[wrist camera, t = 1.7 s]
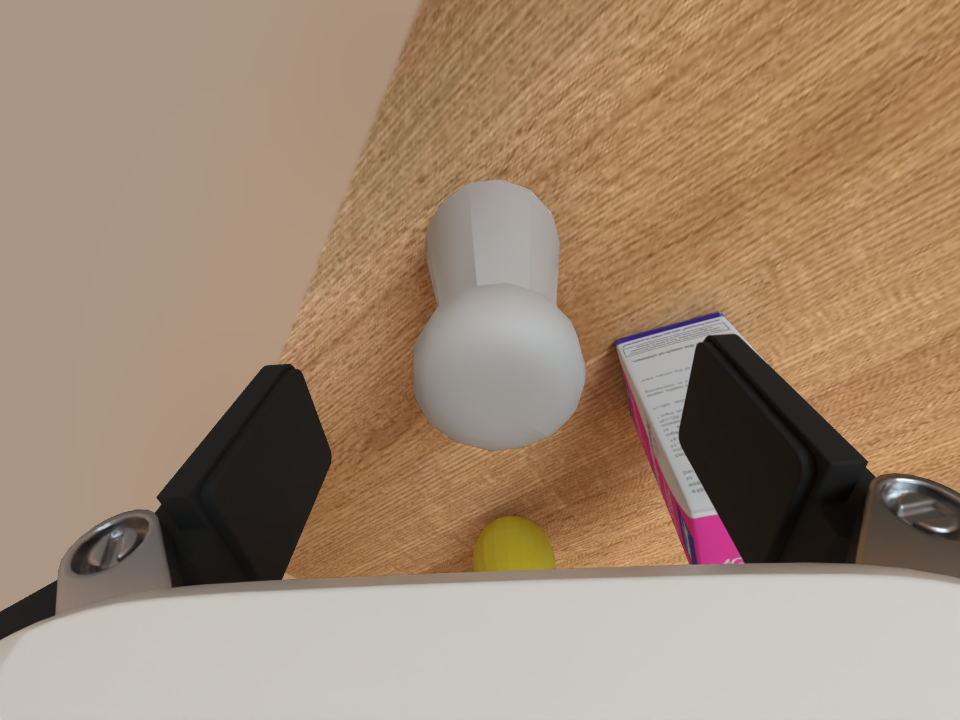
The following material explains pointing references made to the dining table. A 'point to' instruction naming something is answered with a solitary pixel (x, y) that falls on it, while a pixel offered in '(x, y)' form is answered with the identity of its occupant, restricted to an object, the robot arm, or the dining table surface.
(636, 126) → the dining table surface
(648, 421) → the supplement box
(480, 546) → the lemon
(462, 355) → the salt shaker
